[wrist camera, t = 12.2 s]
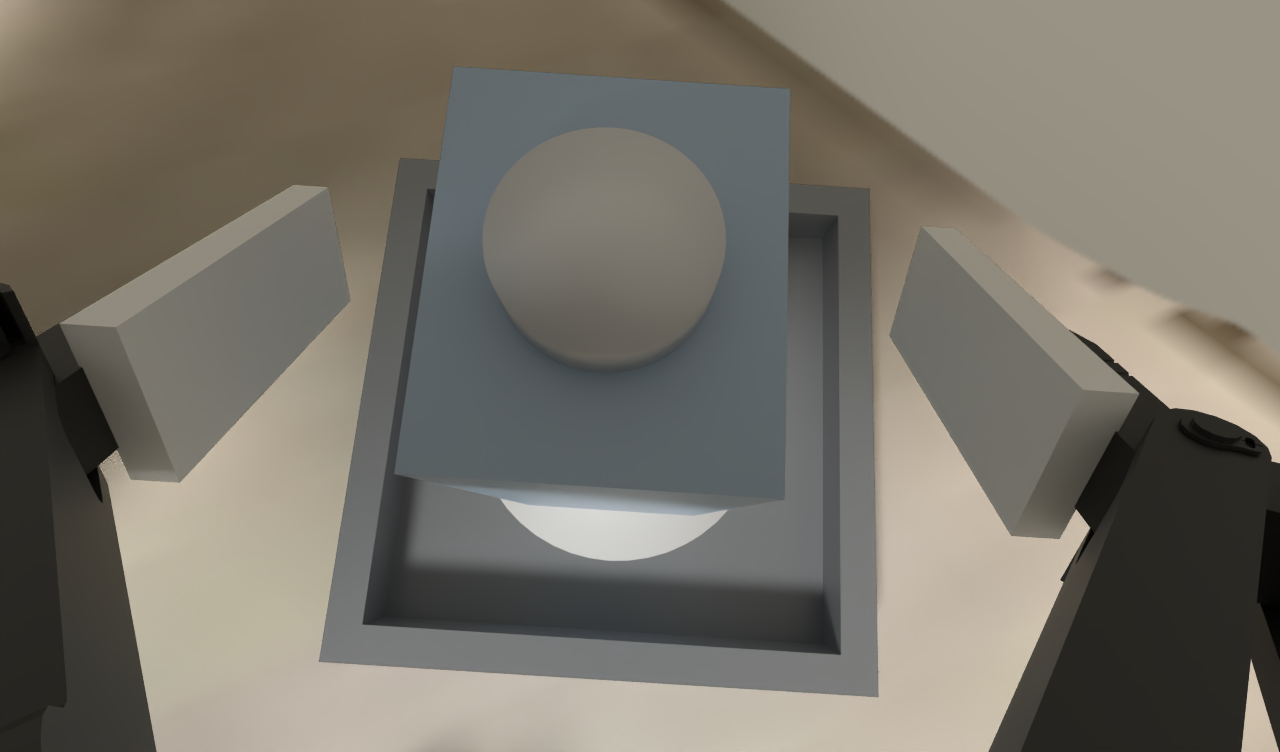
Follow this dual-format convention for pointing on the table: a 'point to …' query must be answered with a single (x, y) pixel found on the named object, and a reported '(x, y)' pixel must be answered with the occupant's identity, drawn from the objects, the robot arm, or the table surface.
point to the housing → (628, 516)
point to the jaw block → (605, 295)
